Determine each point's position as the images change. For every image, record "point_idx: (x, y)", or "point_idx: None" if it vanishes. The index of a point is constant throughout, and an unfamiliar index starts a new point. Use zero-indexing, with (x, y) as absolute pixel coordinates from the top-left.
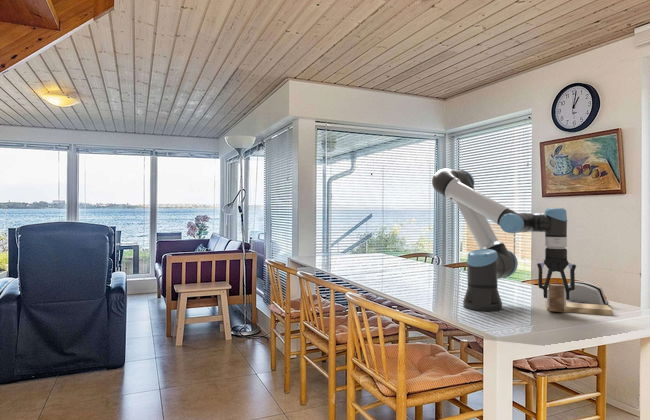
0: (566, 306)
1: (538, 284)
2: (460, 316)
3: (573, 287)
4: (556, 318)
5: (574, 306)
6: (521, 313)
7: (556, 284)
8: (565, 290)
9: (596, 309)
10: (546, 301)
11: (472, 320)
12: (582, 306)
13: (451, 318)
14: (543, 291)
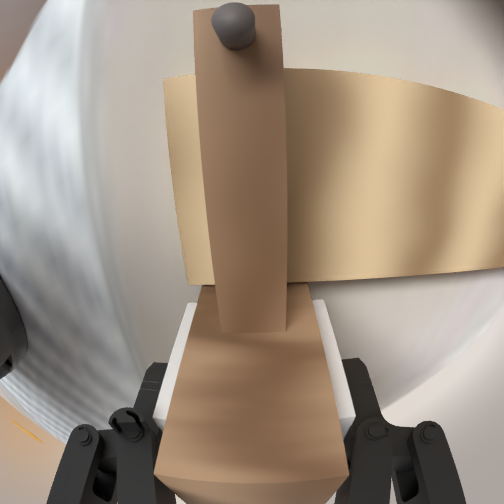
0: (339, 269)
1: (73, 452)
2: (23, 404)
3: (408, 472)
4: None
5: (399, 245)
6: (101, 365)
7: (259, 492)
8: (347, 439)
9: (488, 266)
10: (175, 102)
11: (59, 429)
12: (451, 223)
13: (27, 416)
14: (134, 408)
